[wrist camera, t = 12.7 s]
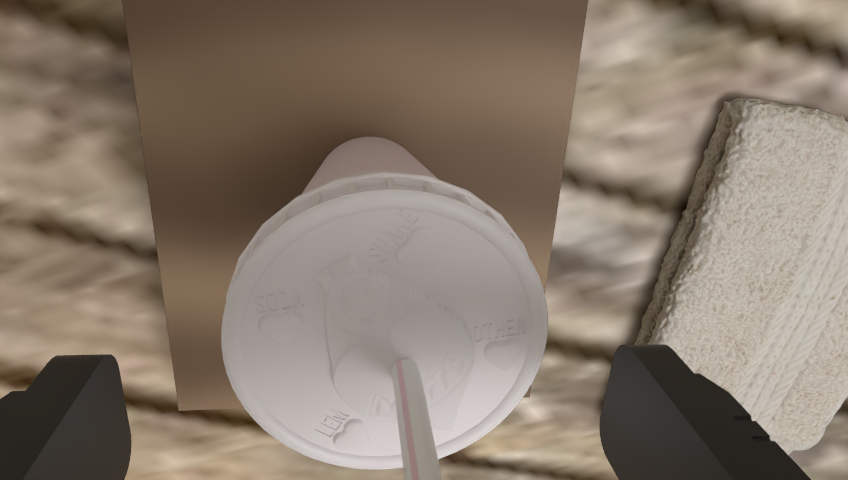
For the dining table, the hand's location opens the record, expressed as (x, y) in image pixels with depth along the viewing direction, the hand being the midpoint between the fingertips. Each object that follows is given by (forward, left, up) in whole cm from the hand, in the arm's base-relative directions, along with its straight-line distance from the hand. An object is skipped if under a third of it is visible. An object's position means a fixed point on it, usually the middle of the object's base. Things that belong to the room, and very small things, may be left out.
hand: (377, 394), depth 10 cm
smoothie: (0, 0, -12) cm, 12 cm away
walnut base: (0, 0, -15) cm, 15 cm away
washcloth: (+7, +20, -16) cm, 26 cm away
